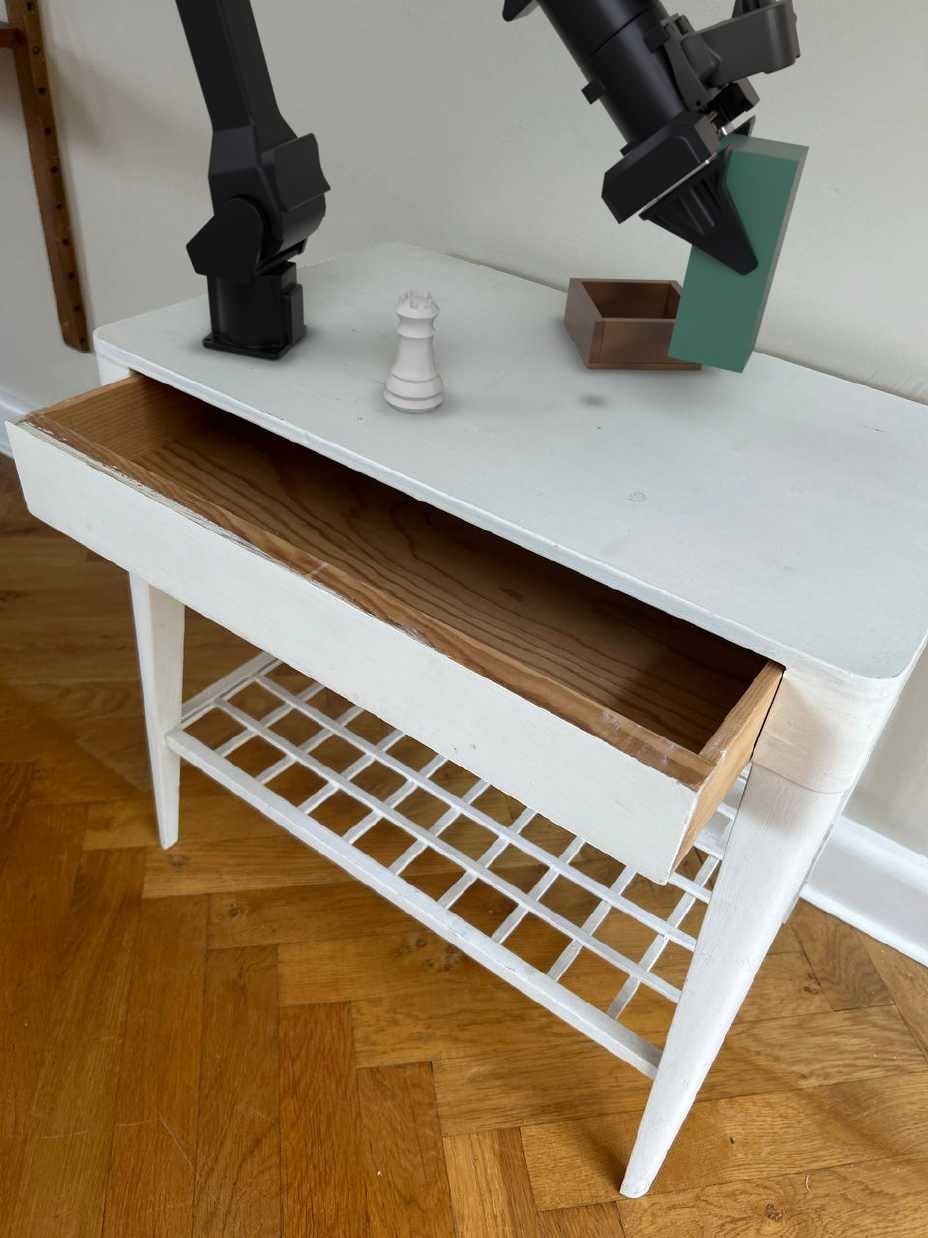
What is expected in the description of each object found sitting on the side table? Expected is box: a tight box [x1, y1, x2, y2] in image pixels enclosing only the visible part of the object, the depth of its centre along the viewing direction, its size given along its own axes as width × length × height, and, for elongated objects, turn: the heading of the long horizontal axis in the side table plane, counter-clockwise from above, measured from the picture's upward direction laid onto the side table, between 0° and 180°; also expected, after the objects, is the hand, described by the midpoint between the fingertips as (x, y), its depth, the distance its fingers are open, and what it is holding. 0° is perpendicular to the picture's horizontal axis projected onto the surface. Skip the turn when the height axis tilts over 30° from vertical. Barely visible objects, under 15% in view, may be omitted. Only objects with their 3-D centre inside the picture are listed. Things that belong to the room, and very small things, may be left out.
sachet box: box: [668, 133, 810, 374], centre depth 64 cm, size 5×5×13 cm
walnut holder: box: [563, 277, 703, 371], centre depth 85 cm, size 10×10×4 cm
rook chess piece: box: [383, 288, 444, 414], centre depth 72 cm, size 4×4×8 cm
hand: (757, 258), depth 64 cm, fingers closed on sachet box, 5 cm apart
